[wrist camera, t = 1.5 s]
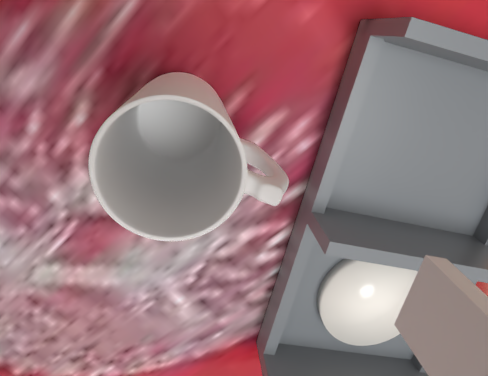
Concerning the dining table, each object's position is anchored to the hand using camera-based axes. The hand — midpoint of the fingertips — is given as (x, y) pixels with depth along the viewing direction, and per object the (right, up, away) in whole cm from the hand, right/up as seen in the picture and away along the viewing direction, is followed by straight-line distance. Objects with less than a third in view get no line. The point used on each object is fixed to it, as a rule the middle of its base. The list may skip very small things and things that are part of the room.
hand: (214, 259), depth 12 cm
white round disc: (+12, -7, +23) cm, 27 cm away
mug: (-2, +7, +17) cm, 19 cm away
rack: (+13, -1, +22) cm, 25 cm away
